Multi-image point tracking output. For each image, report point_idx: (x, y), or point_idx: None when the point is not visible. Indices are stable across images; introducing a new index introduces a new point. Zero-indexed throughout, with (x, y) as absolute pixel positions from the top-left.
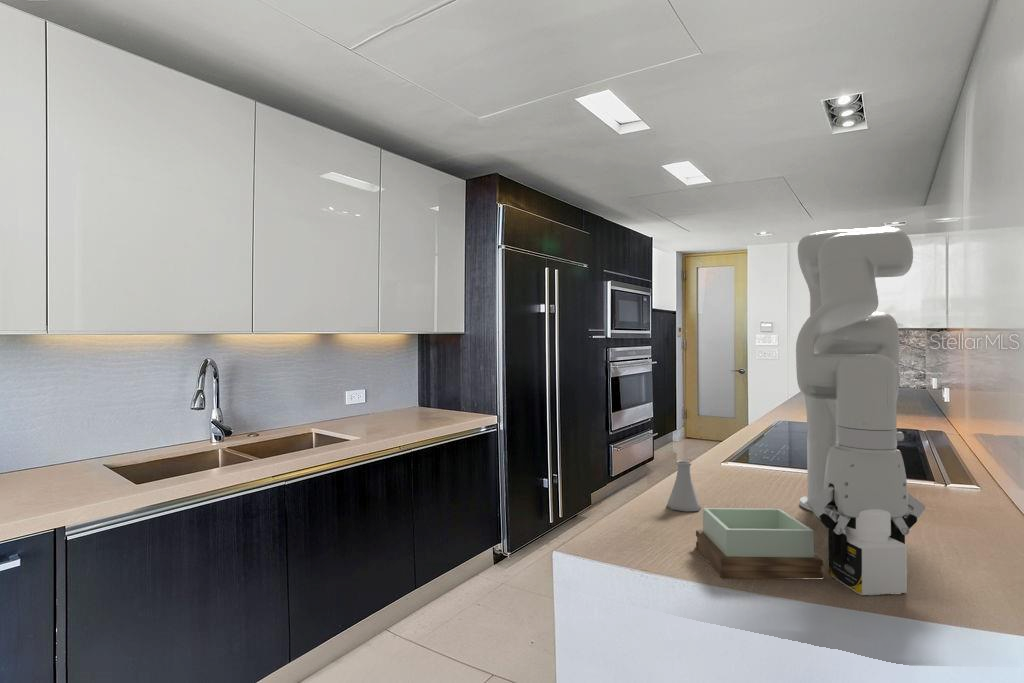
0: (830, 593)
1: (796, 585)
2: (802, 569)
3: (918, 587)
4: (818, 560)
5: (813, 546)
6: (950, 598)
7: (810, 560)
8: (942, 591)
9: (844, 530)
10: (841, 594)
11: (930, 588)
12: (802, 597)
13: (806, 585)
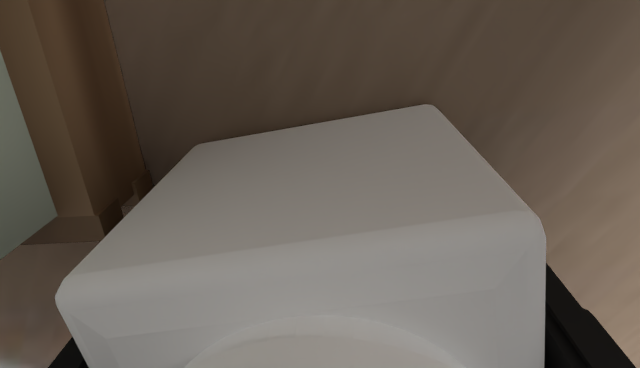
0: None
1: (23, 256)
2: None
3: (560, 235)
4: (82, 239)
5: (7, 252)
6: (606, 320)
7: (36, 242)
8: (636, 265)
9: (184, 351)
10: None
11: (609, 241)
12: (32, 345)
13: (65, 253)
